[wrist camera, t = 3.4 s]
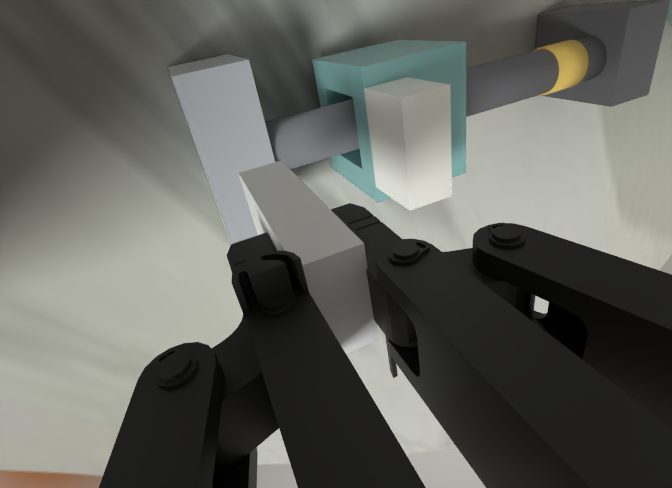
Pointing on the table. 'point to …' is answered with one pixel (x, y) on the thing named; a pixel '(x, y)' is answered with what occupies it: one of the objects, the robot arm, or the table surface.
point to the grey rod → (481, 95)
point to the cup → (669, 13)
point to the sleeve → (401, 117)
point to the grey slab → (225, 131)
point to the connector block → (610, 46)
